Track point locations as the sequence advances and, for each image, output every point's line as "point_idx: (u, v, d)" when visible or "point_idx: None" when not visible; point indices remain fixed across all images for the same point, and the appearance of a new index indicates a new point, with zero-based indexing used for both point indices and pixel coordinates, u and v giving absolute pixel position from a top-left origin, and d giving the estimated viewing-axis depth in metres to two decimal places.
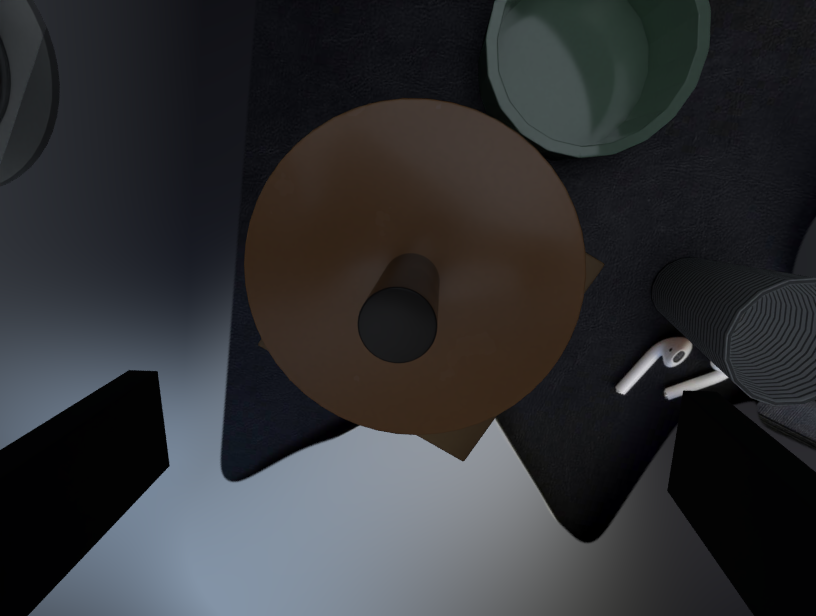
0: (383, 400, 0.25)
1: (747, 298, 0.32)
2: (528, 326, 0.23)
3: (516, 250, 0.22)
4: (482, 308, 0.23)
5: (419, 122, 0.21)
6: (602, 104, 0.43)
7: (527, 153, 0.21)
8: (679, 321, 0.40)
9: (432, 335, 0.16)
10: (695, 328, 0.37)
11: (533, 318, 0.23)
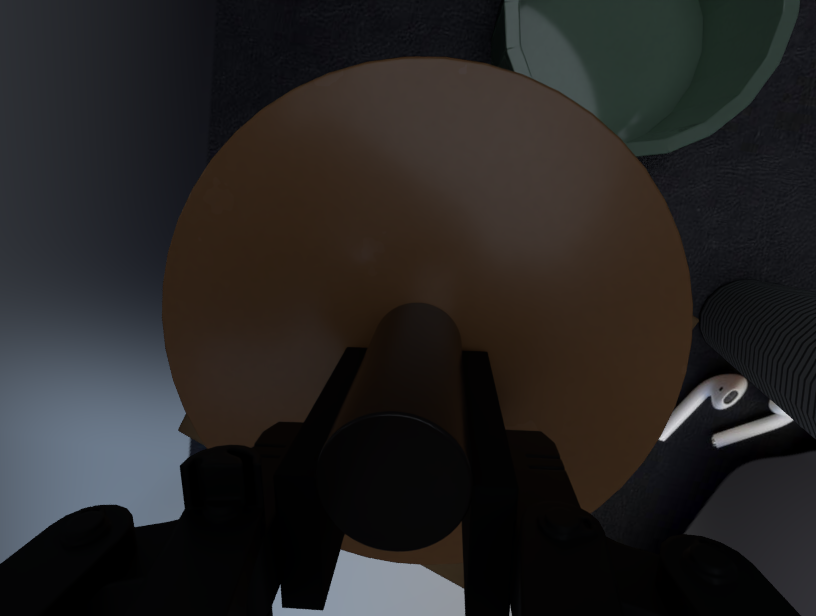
0: None
1: None
2: (598, 413, 0.15)
3: (583, 299, 0.14)
4: (527, 386, 0.15)
5: (431, 96, 0.13)
6: (644, 92, 0.35)
7: (606, 146, 0.13)
8: (744, 363, 0.32)
9: (463, 503, 0.08)
10: (771, 376, 0.29)
11: (606, 402, 0.15)
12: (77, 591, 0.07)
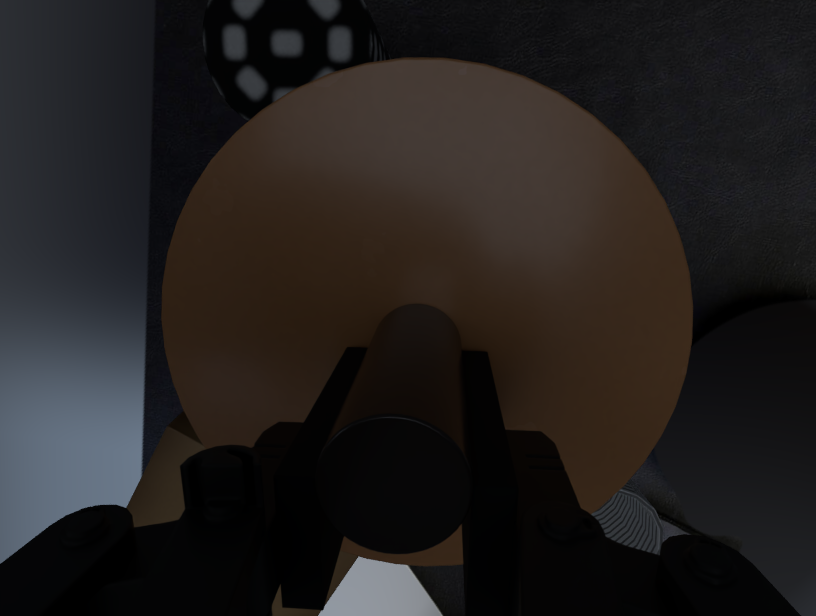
0: None
1: None
2: (597, 414, 0.15)
3: (582, 300, 0.14)
4: (527, 387, 0.15)
5: (431, 97, 0.13)
6: None
7: (606, 147, 0.13)
8: None
9: (463, 506, 0.08)
10: None
11: (606, 403, 0.15)
12: (77, 591, 0.07)
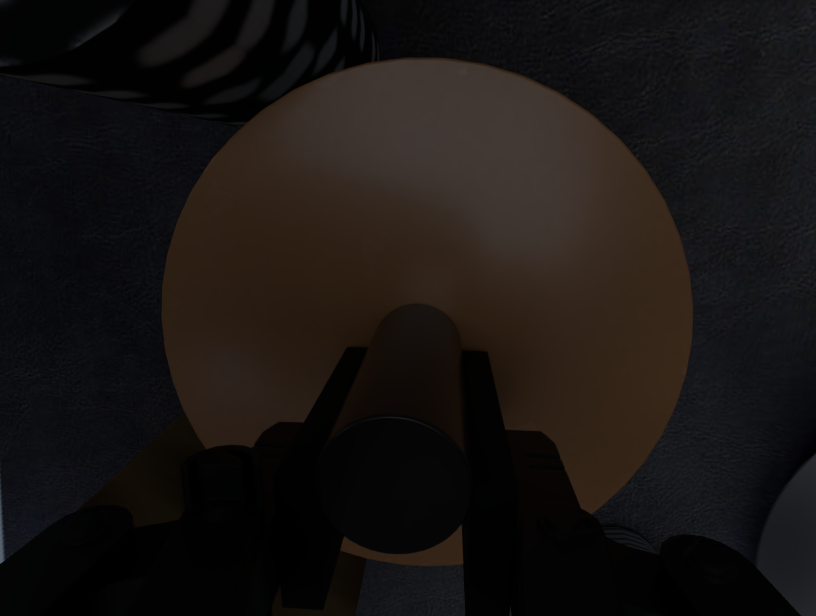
0: None
1: None
2: (598, 414, 0.15)
3: (583, 300, 0.14)
4: (527, 388, 0.15)
5: (431, 97, 0.13)
6: None
7: (606, 147, 0.13)
8: None
9: (463, 506, 0.08)
10: None
11: (606, 403, 0.15)
12: (77, 591, 0.07)
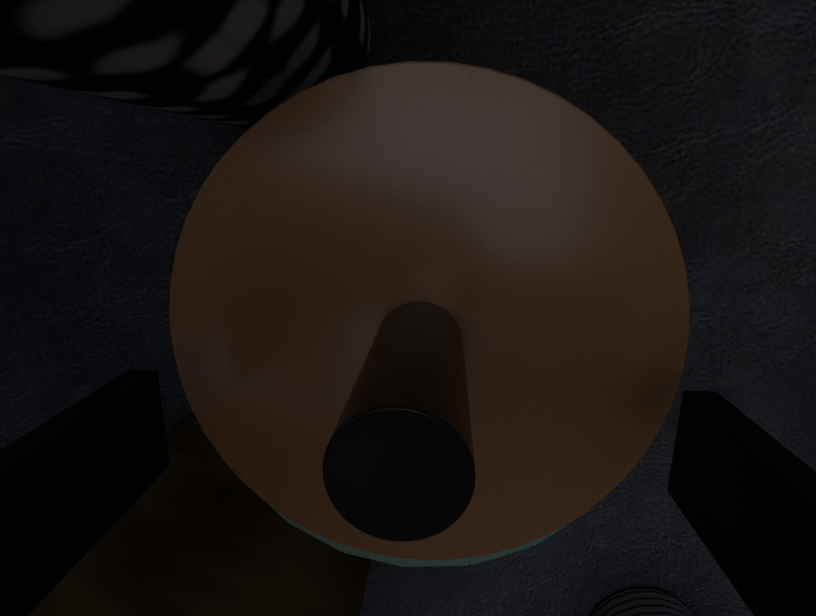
0: None
1: None
2: (596, 410, 0.15)
3: (582, 298, 0.15)
4: (527, 384, 0.15)
5: (433, 100, 0.13)
6: None
7: (605, 148, 0.13)
8: None
9: (466, 495, 0.09)
10: None
11: (605, 399, 0.15)
12: None
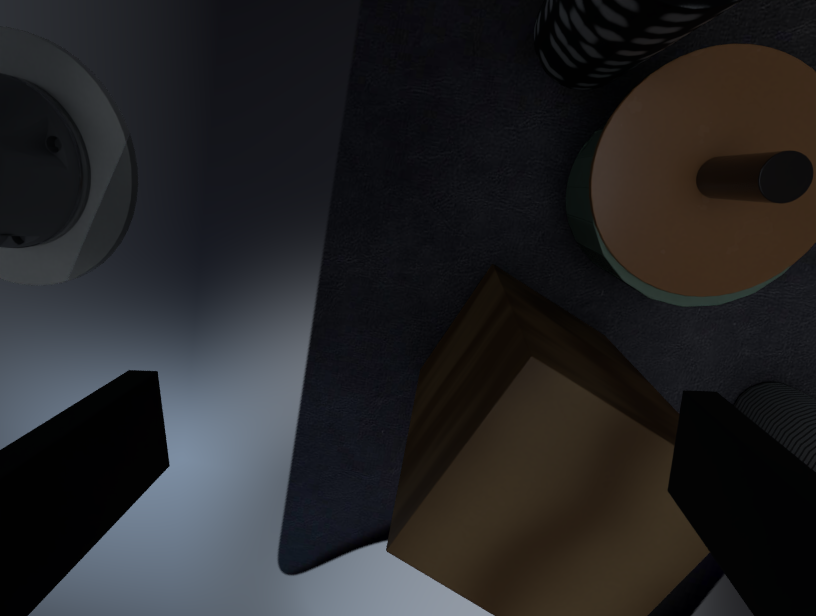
0: (680, 269, 0.34)
1: None
2: (800, 212, 0.32)
3: None
4: None
5: (742, 61, 0.31)
6: None
7: None
8: None
9: (808, 184, 0.26)
10: None
11: (804, 206, 0.32)
12: None
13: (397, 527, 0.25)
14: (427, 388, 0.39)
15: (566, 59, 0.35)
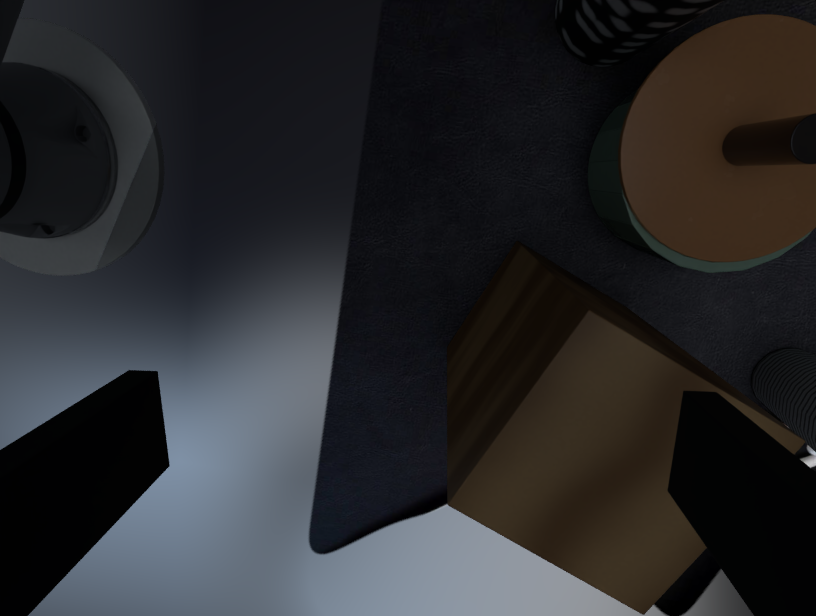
0: (707, 235, 0.35)
1: None
2: None
3: None
4: (790, 165, 0.34)
5: (766, 31, 0.32)
6: None
7: None
8: (795, 423, 0.40)
9: None
10: None
11: None
12: None
13: (456, 482, 0.26)
14: (461, 361, 0.40)
15: (592, 35, 0.36)
